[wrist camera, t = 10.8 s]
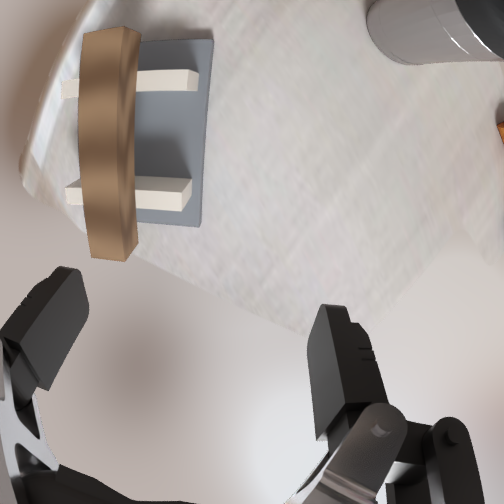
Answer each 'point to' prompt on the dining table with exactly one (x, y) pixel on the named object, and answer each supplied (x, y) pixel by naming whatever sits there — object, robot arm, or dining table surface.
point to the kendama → (501, 130)
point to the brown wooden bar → (108, 140)
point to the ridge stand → (166, 130)
